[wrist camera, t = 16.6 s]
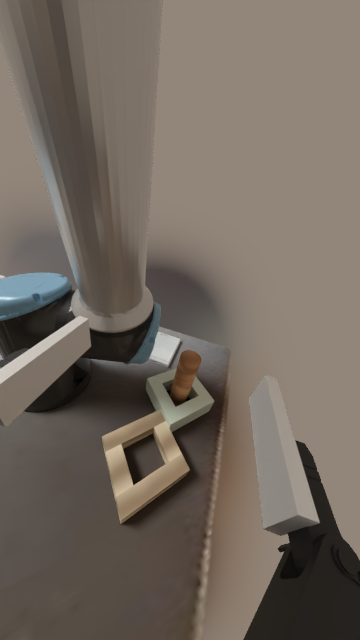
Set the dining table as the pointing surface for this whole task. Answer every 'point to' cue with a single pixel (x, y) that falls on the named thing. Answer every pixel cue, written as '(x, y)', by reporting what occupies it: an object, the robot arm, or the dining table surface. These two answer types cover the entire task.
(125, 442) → the holder
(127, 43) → the robot arm
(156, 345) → the hard drive
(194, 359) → the peg
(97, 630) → the dining table surface
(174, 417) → the socket block
